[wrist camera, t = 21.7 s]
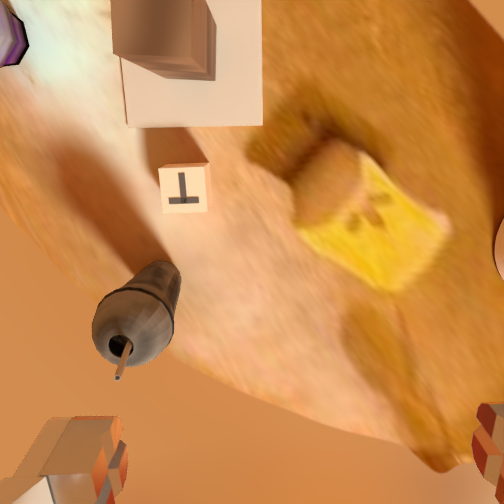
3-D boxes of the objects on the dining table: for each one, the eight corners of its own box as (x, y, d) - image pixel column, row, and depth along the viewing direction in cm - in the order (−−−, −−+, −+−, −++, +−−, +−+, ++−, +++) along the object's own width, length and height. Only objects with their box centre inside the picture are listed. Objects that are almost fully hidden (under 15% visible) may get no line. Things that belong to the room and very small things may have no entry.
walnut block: (216, 25, 41) (191, -33, 25) (215, 81, 42) (191, 57, 27) (165, 23, 40) (108, -37, 25) (165, 78, 42) (113, 53, 27)
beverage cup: (126, 251, 48) (39, 336, 29) (189, 247, 48) (143, 330, 29) (136, 309, 50) (61, 424, 31) (196, 305, 50) (158, 419, 31)
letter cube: (209, 162, 45) (203, 166, 41) (212, 203, 46) (207, 212, 42) (167, 164, 45) (158, 168, 41) (171, 205, 46) (162, 213, 42)
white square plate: (260, -30, 40) (260, -32, 39) (262, 125, 44) (262, 125, 43) (113, -26, 40) (112, -27, 39) (129, 128, 44) (128, 128, 43)
